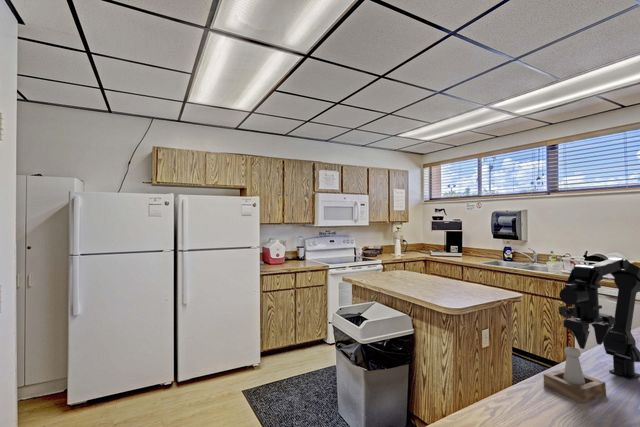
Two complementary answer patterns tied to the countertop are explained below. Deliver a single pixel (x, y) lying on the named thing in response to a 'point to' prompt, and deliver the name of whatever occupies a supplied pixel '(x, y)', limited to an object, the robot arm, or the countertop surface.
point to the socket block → (575, 386)
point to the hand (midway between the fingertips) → (590, 346)
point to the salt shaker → (573, 367)
